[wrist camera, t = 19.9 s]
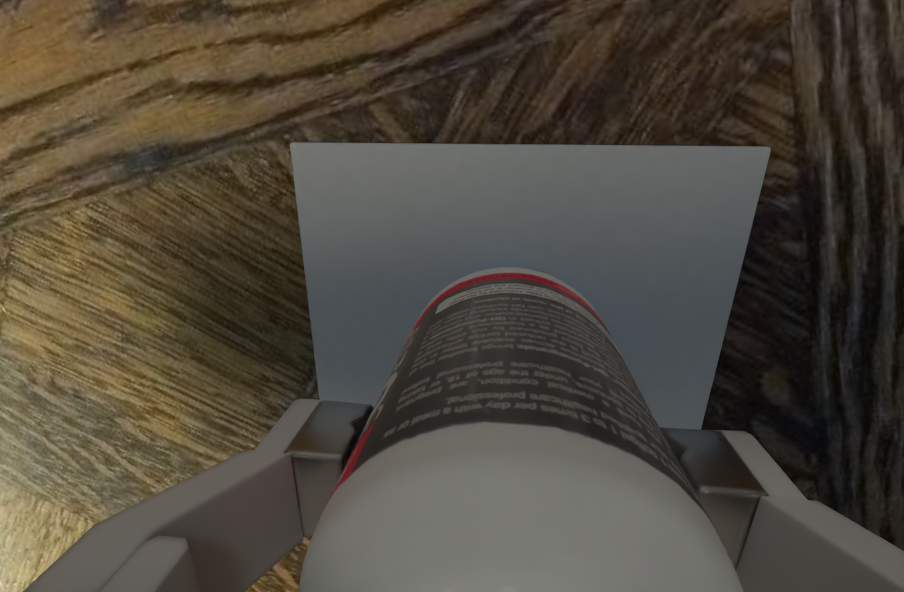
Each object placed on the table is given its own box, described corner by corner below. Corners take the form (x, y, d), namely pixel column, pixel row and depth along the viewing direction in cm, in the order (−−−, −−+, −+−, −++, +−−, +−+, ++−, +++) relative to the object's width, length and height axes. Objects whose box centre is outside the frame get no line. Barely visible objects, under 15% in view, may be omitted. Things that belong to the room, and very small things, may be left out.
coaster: (757, 146, 10) (773, 147, 9) (669, 512, 14) (677, 528, 13) (299, 142, 11) (288, 142, 10) (336, 481, 15) (329, 494, 14)
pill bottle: (385, 288, 11) (-101, 888, 2) (590, 239, 10) (1249, 996, 1) (441, 451, 13) (292, 1183, 4) (623, 423, 12) (1010, 1340, 3)
